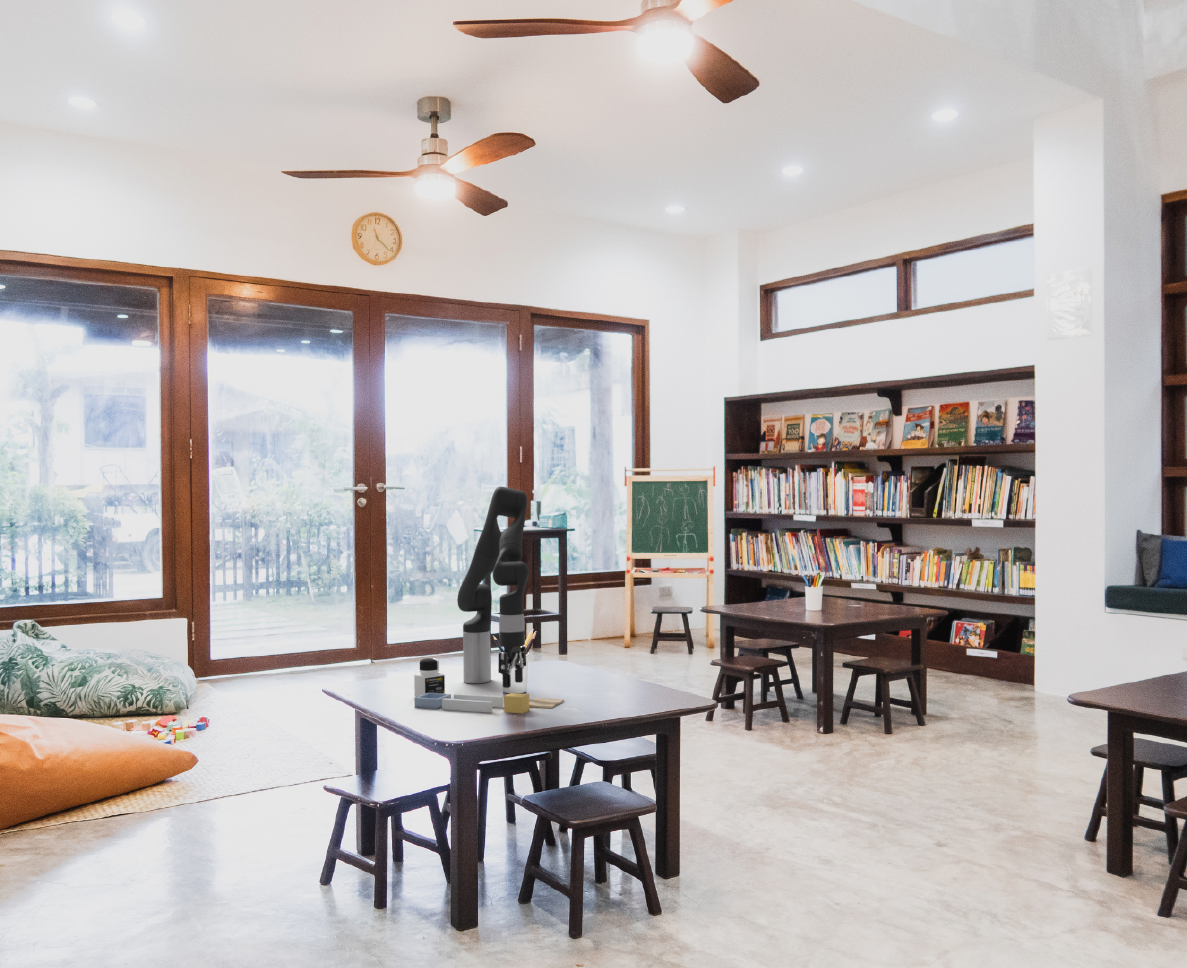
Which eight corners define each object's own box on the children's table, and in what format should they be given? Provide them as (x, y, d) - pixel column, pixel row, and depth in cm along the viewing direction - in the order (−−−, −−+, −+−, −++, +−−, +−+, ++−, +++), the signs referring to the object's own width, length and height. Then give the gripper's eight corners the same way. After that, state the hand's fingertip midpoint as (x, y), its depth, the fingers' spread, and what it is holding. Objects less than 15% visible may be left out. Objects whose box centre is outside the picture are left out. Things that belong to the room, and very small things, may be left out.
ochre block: (510, 709, 278) (510, 693, 278) (529, 710, 276) (529, 694, 276) (504, 712, 274) (504, 696, 274) (522, 713, 272) (522, 697, 272)
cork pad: (534, 699, 290) (534, 697, 290) (564, 701, 287) (564, 699, 287) (520, 706, 281) (520, 704, 281) (551, 708, 278) (551, 706, 278)
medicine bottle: (425, 700, 292) (424, 661, 293) (414, 696, 298) (413, 658, 298) (445, 696, 297) (444, 658, 297) (433, 693, 302) (433, 656, 303)
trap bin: (428, 701, 290) (428, 692, 290) (451, 703, 287) (450, 694, 287) (414, 707, 282) (414, 698, 282) (438, 709, 279) (437, 699, 279)
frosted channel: (442, 709, 279) (442, 699, 279) (455, 703, 287) (455, 693, 287) (490, 712, 273) (490, 702, 273) (503, 706, 281) (503, 696, 281)
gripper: (513, 633, 268) (514, 690, 267) (533, 626, 281) (534, 681, 281) (489, 632, 270) (490, 688, 270) (510, 626, 284) (511, 680, 283)
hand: (513, 684), depth 275 cm, fingers open, 8 cm apart
